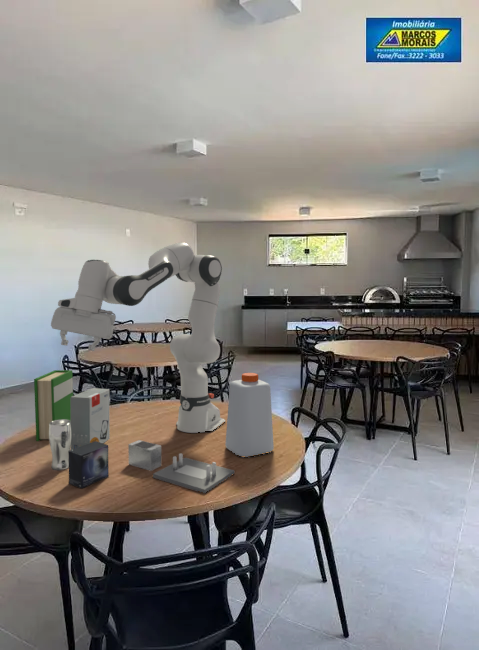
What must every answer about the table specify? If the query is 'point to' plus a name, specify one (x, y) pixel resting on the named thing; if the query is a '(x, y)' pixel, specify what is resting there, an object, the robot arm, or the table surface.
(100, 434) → the hard drive box
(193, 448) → the table surface
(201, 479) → the tray
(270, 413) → the plastic bottle
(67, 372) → the hardback book
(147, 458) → the block
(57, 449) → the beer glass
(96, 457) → the small box
